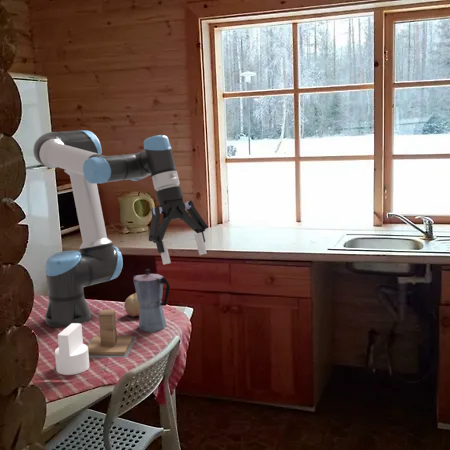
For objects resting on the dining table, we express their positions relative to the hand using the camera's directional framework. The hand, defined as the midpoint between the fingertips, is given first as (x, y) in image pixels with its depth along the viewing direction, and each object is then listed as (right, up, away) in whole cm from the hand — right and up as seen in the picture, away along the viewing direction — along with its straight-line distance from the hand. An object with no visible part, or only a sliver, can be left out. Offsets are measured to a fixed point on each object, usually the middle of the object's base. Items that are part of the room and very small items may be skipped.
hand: (185, 259), depth 171 cm
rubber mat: (-24, -28, +7) cm, 37 cm away
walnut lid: (-24, -27, +7) cm, 36 cm away
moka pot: (-12, -24, +23) cm, 35 cm away
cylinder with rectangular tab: (-31, -31, -6) cm, 44 cm away
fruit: (-19, -22, +35) cm, 45 cm away
